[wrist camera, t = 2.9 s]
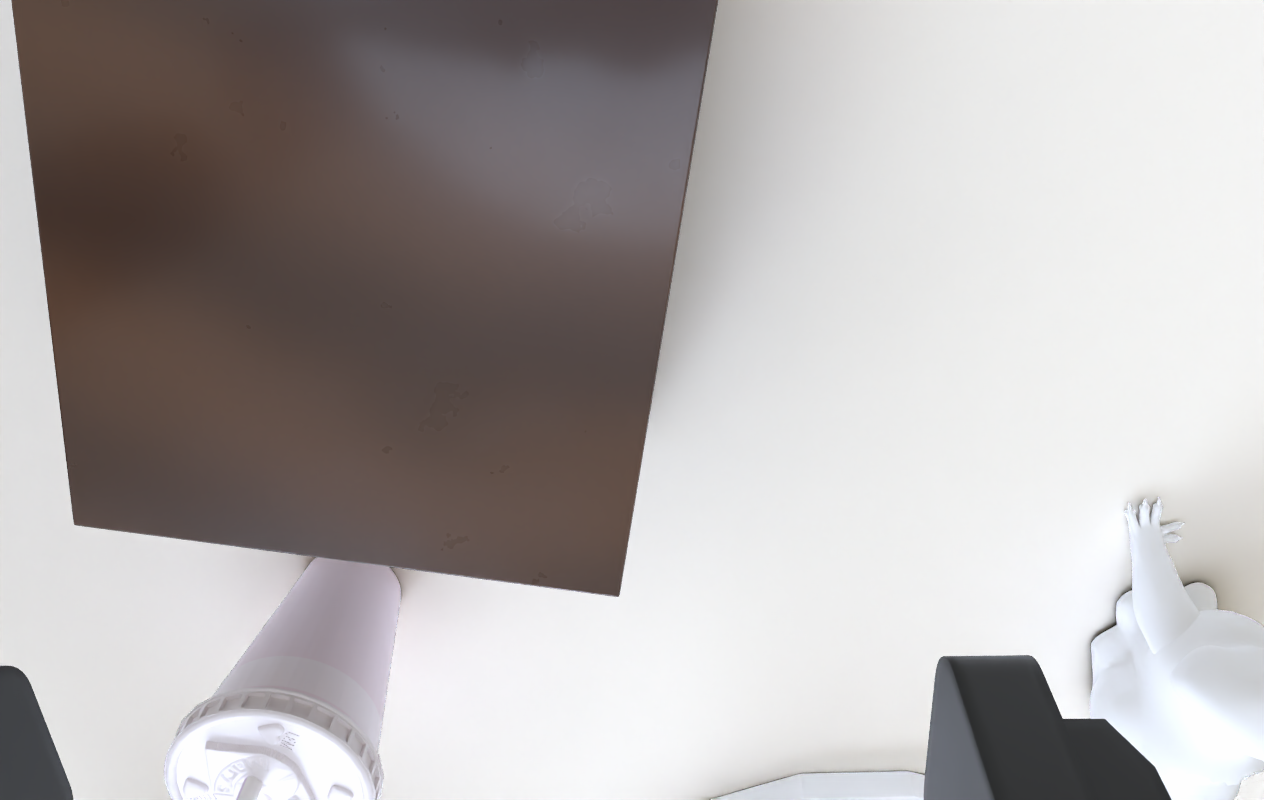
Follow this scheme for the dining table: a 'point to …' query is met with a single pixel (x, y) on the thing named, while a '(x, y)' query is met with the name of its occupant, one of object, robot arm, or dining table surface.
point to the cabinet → (363, 269)
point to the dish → (838, 787)
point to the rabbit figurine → (1181, 673)
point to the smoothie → (299, 698)
